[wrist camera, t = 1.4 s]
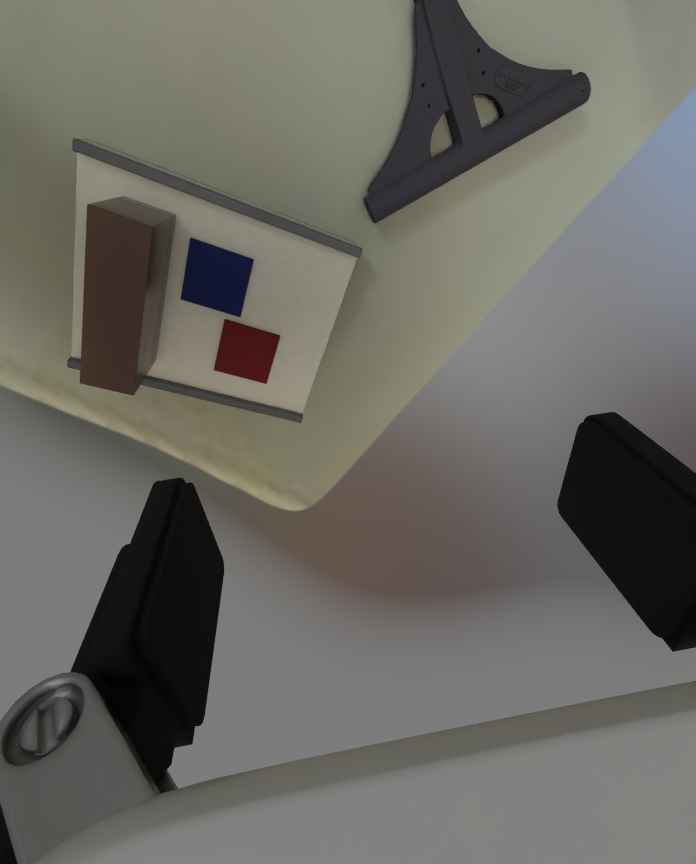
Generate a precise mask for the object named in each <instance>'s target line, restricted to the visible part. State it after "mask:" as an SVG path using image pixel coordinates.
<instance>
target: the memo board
mask: <svg viewBox="0 0 696 864" xmlns="http://www.w3.org/2000/svg"><path fill="white" fill-rule="evenodd" d="M73 151H75V152H77V174H76V210H75V245H74V281H73V317H72V352H71V357H70V358H69V359H68V367H69V368H74V369H78V370H80V367H81V342H82V317H83V293H84V268H85V243H86V218H87V204H91V203H95V202H99V201H103V200H108V199H112V198H116V197H121V196H126V197H129V198H131V199H134V200H137V201H140V202H143V203H145V204H148V205H151V206H154V207H156V208H159V209H162V210H165V211H168V212H170V213H173V214H176V221H175V228H174V235H173V243H172V250H171V257H170V264H169V272H168V279H167V286H166V293H165V300H164V308H163V315H162V322H161V329H160V337H159V344H158V351H157V358H156V361H155V362H154V364H153V366H152V367H151V369H150V370H149V372H148V374H147V375H146V377H145V378H144V380H143V381H142V383H141V385H145V386H149V387H153V388H157V389H161V390H166V391H170V392H174V393H178V394H182V395H186V396H191V397H195V398H199V399H203V400H207V401H212V402H216V403H220V404H224V405H228V406H232V407H237V408H241V409H245V410H249V411H253V412H258V413H262V414H266V415H270V416H274V417H278V418H283V419H287V420H291V421H295V422H299V423H301V421H302V418H303V411H304V408H305V405H306V402H307V400H308V397H309V394H310V391H311V388H312V385H313V383H314V380H315V377H316V374H317V371H318V368H319V366H320V363H321V360H322V357H323V354H324V351H325V349H326V346H327V343H328V340H329V337H330V334H331V332H332V329H333V326H334V323H335V320H336V317H337V315H338V312H339V309H340V306H341V303H342V300H343V298H344V295H345V292H346V289H347V286H348V283H349V281H350V278H351V275H352V272H353V269H354V267H355V264H356V261H357V258H360V255H361V252H362V249H361V248H360V246H359V245H358V244H357V243H354V242H351V241H349V240H346V239H344V238H341V237H339V236H336V235H333V234H331V233H328V232H326V231H323V230H320V229H318V228H315V227H313V226H310V225H308V224H305V223H302V222H300V221H297V220H295V219H292V218H289V217H287V216H284V215H282V214H279V213H276V212H274V211H271V210H269V209H266V208H264V207H261V206H258V205H256V204H253V203H251V202H248V201H245V200H243V199H240V198H238V197H235V196H233V195H230V194H227V193H225V192H222V191H220V190H217V189H214V188H212V187H209V186H207V185H204V184H201V183H199V182H196V181H194V180H191V179H189V178H186V177H183V176H181V175H178V174H176V173H173V172H170V171H168V170H165V169H163V168H160V167H157V166H155V165H152V164H150V163H147V162H145V161H142V160H139V159H137V158H134V157H132V156H129V155H126V154H124V153H121V152H119V151H116V150H114V149H111V148H108V147H106V146H103V145H101V144H98V143H95V142H93V141H90V140H85V139H75V138H73ZM190 238H194V239H197V240H200V241H203V242H206V243H208V244H211V245H214V246H217V247H220V248H223V249H226V250H229V251H231V252H234V253H237V254H240V255H243V256H246V257H249V258H252V259H254V262H253V266H252V271H251V275H250V279H249V283H248V288H247V292H246V296H245V300H244V305H243V309H242V313H241V317H237V316H234V315H230V314H227V313H224V312H220V311H217V310H214V309H210V308H207V307H204V306H201V305H197V304H194V303H191V302H187V301H184V300H181V293H182V287H183V280H184V274H185V268H186V261H187V255H188V249H189V242H190ZM225 319H227V320H230V321H233V322H237V323H240V324H244V325H247V326H250V327H254V328H257V329H260V330H264V331H267V332H270V333H274V334H277V335H280V340H279V343H278V347H277V350H276V354H275V357H274V360H273V364H272V367H271V371H270V374H269V378H268V381H267V384H264V383H260V382H257V381H253V380H249V379H245V378H241V377H237V376H234V375H230V374H226V373H222V372H218V371H214V366H215V361H216V357H217V352H218V347H219V343H220V338H221V334H222V329H223V324H224V320H225Z"/></svg>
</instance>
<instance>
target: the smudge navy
mask: <svg viewBox="0 0 696 864" xmlns="http://www.w3.org/2000/svg"><path fill="white" fill-rule="evenodd" d="M253 262H254V259H252V258H249V257H246V256H243V255H240V254H237V253H234V252H231V251H229V250H226V249H223V248H220V247H217V246H214V245H211V244H208V243H206V242H203V241H200V240H197V239H194V238H190V242H189V249H188V255H187V261H186V268H185V274H184V280H183V287H182V293H181V300H184V301H187V302H191V303H194V304H197V305H201V306H204V307H207V308H210V309H214V310H217V311H220V312H224V313H227V314H230V315H234V316H237V317H241V313H242V309H243V305H244V300H245V296H246V292H247V288H248V283H249V279H250V275H251V271H252V266H253Z"/></svg>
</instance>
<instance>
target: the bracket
mask: <svg viewBox="0 0 696 864" xmlns="http://www.w3.org/2000/svg"><path fill="white" fill-rule="evenodd" d="M414 3H415V7H414V8H415V31H416V62H415V73H414V83H413V91H412V97H411V100H410V104H409V107H408V111H407V114H406V118H405V121H404V124H403V127H402V129H401V132H400V134H399V137H398V139H397V141H396V144H395V146H394V148H393V150H392V152H391V154H390V156H389V157H388V159H387V161H386V163H385V164H384V166H383V167H382V169H381V171H380V172H379V174H378V175H377V176H376V178H375V179H374V181H373V182H372V184H371V185H370V186H369V188H368V190H369V193H370V195H369V196H367V197H366V198H364V202H365V205H366V208H367V210H368V213H369V215H370V217H371V219H372V221H373V222H374V223H377V222H379V221H380V220H382V219H384V218H386V217H387V216H389V215H391V214H393V213H394V212H396V211H398V210H399V209H401V208H403V207H405V206H406V205H408V204H410V203H412V202H413V201H415V200H417V199H419V198H420V197H422V196H424V195H426V194H427V193H429V192H431V191H433V190H434V189H436V188H438V187H440V186H441V185H443V184H445V183H447V182H448V181H450V180H452V179H454V178H455V177H457V176H459V175H460V174H462V173H464V172H466V171H467V170H469V169H471V168H473V167H474V166H476V165H478V164H480V163H481V162H483V161H485V160H487V159H488V158H490V157H492V156H494V155H495V154H497V153H499V152H501V151H502V150H504V149H506V148H508V147H509V146H511V145H513V144H514V143H516V142H518V141H520V140H521V139H523V138H525V137H527V136H528V135H530V134H532V133H534V132H535V131H537V130H539V129H541V128H542V127H544V126H546V125H548V124H549V123H551V122H553V121H555V120H556V119H558V118H560V117H562V116H563V115H565V114H567V113H569V112H570V111H572V110H574V109H575V108H577V107H579V106H581V105H582V104H584V103H585V102H587V100H588V99H589V96H590V92H591V87H590V82H589V79H588V77H587V75H586V74H585V73H583V72H579V73H577V74H575V75H572V70H546V69H537V68H532V67H528V66H525V65H522V64H519V63H516V62H514V61H512V60H510V59H508V58H506V57H505V56H503V55H501V54H500V53H498V52H497V51H495V50H494V49H492V48H491V47H489V46H488V45H487V44H486V43H485V41H484V40H483V39H482V38H481V37H480V35H479V34H478V33H477V32H476V31H475V29H474V28H473V27H472V25H471V24H470V22H469V21H468V19H467V18H466V17H465V15H464V13H463V11H462V9H461V8H460V6H459V4H458V2H457V0H414ZM477 50H478V53H477ZM482 72H483V74H482ZM421 84H423V87H422V86H421ZM475 94H484V95H488V96H490V97H491V98H493V99H494V100H495V101H496V102H497V104H498V105H499V107H500V109H501V111H502V114H503V117H502V118H500V119H499V120H497V121H495V122H494V123H492V124H490V125H489V126H487V127H485V128H483V129H482V128H481V124H480V121H479V117H478V114H477V111H476V107H475V104H474V100H473V97H472V96H473V95H475ZM427 105H429V108H428V107H427ZM444 113H445V114H446V118H447V121H448V125H449V128H450V132H451V136H452V139H453V143H454V145H453V146H452V147H451V148H449V149H448V150H446V151H444V152H443V153H441V154H439V155H437V156H436V157H434V158H431V153H430V140H431V135H432V132H433V129H434V127H435V125H436V123H437V121H438V120H439V118H440V117H441V116H442V115H443V114H444Z"/></svg>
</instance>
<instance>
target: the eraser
mask: <svg viewBox="0 0 696 864" xmlns="http://www.w3.org/2000/svg"><path fill="white" fill-rule="evenodd" d="M175 221H176V214H173V213H170V212H168V211H165V210H162V209H159V208H156V207H154V206H151V205H148V204H145V203H143V202H140V201H137V200H134V199H131V198H129V197H126V196H121V197H116V198H112V199H108V200H103V201H99V202H95V203H91V204H87V218H86V243H85V268H84V293H83V317H82V342H81V367H80V383H82V384H86V385H90V386H95V387H99V388H103V389H108V390H112V391H116V392H121V393H125V394H129V395H134V394H135V393H136V391H137V389H138V388H139V386H140V385H141V383H142V381H143V380H144V378H145V377H146V375H147V374H148V372H149V370H150V369H151V367H152V366H153V364H154V362H155V361H156V358H157V351H158V344H159V337H160V329H161V322H162V315H163V308H164V300H165V293H166V286H167V279H168V272H169V264H170V257H171V250H172V243H173V235H174V228H175Z"/></svg>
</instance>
